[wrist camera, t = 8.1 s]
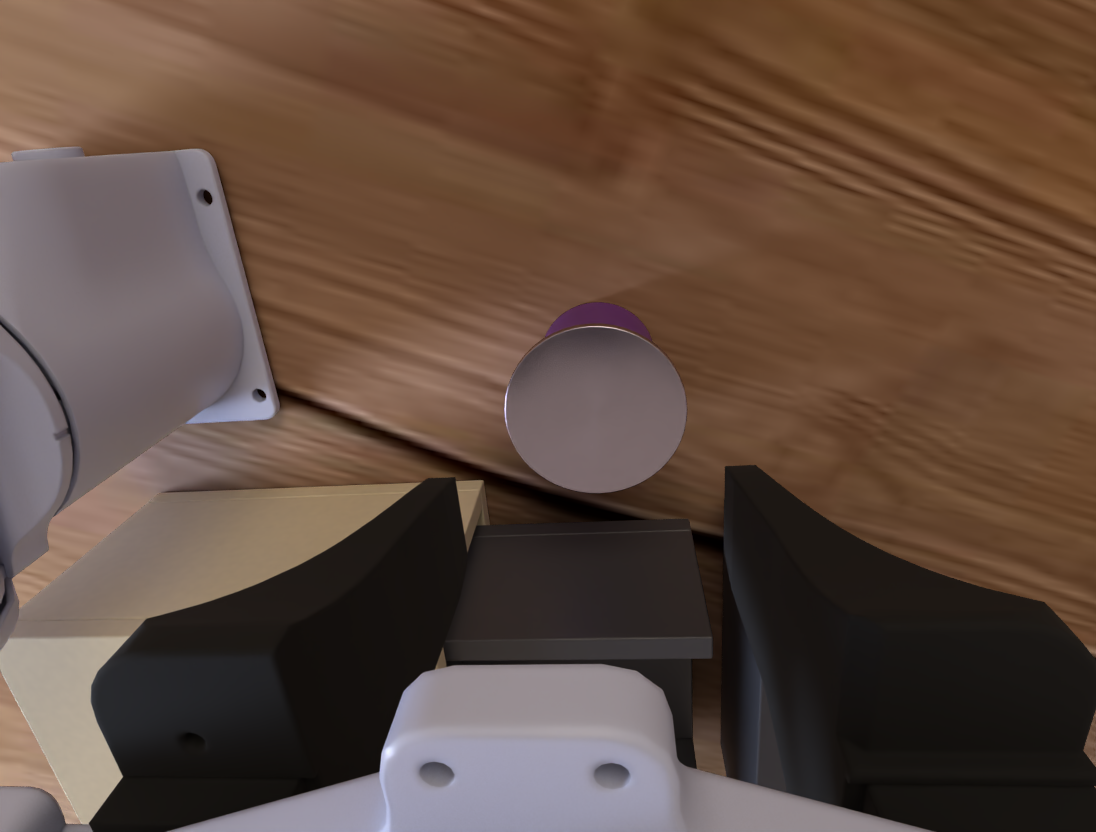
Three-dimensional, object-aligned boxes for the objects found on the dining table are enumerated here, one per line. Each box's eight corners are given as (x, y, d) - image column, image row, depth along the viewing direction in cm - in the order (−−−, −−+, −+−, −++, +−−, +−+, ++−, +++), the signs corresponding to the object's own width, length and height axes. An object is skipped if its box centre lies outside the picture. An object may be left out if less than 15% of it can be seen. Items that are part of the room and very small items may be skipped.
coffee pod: (517, 289, 23) (494, 332, 18) (670, 278, 23) (686, 319, 18) (532, 427, 25) (514, 496, 21) (672, 420, 25) (688, 490, 20)
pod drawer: (896, 489, 24) (997, 618, 18) (863, 742, 29) (933, 913, 23) (423, 506, 26) (365, 627, 20) (467, 741, 31) (431, 898, 25)
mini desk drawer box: (483, 479, 26) (430, 632, 18) (520, 734, 32) (491, 938, 24) (158, 492, 28) (-19, 638, 20) (246, 734, 33) (133, 925, 25)
